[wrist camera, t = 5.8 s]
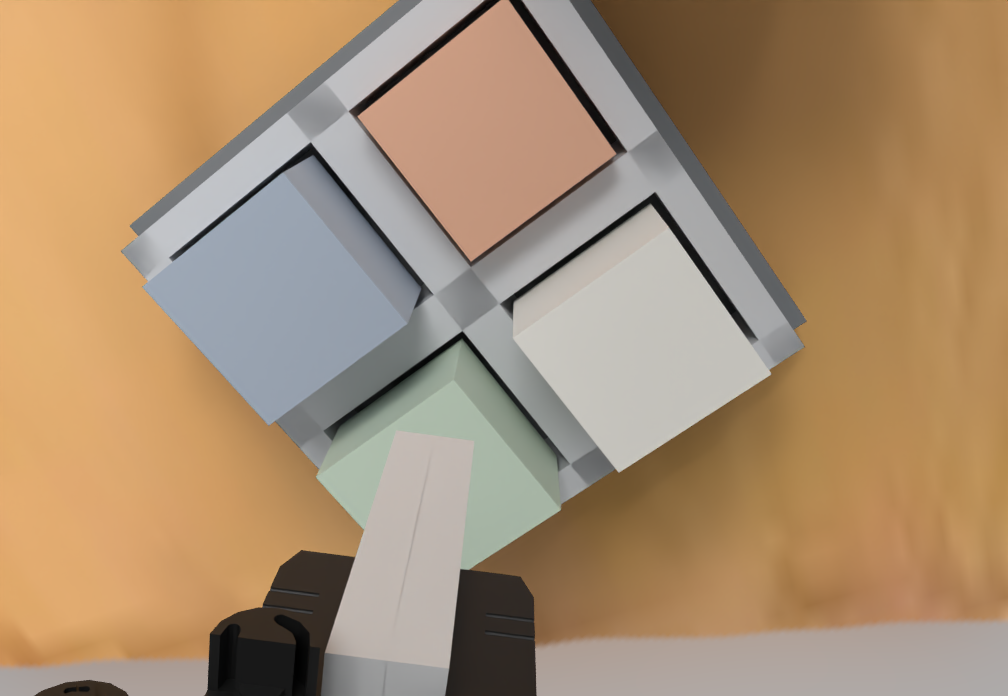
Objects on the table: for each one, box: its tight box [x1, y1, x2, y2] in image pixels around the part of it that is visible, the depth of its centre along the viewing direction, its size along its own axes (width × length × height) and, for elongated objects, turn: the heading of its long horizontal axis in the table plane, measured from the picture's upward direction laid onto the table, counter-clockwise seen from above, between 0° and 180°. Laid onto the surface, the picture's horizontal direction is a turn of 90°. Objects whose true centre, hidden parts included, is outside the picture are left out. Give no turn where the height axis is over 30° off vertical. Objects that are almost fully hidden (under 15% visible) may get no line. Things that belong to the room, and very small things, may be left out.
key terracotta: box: [357, 0, 616, 261], centre depth 26 cm, size 5×5×4 cm
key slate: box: [143, 155, 422, 426], centre depth 25 cm, size 5×5×4 cm
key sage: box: [316, 339, 561, 570], centre depth 27 cm, size 5×5×4 cm
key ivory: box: [513, 204, 771, 472], centre depth 25 cm, size 5×5×4 cm
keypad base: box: [121, 0, 806, 504], centre depth 29 cm, size 16×16×5 cm
